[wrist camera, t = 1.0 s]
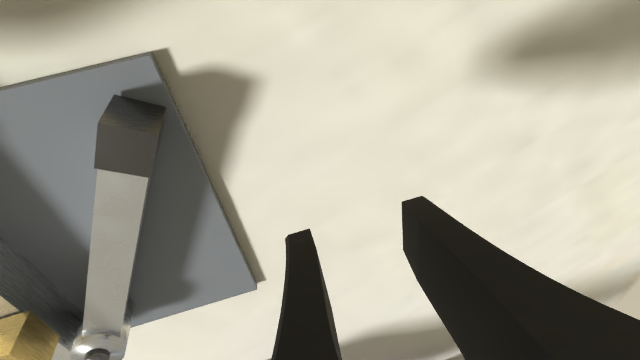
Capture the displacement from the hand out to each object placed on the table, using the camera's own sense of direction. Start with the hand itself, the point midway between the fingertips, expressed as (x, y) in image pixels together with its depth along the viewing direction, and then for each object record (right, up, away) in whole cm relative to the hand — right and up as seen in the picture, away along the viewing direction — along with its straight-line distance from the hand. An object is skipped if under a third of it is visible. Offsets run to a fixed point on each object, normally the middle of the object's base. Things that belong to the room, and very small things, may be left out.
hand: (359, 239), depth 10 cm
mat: (-13, -1, +9) cm, 16 cm away
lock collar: (-16, -6, +8) cm, 19 cm away
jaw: (-12, -1, +9) cm, 14 cm away
